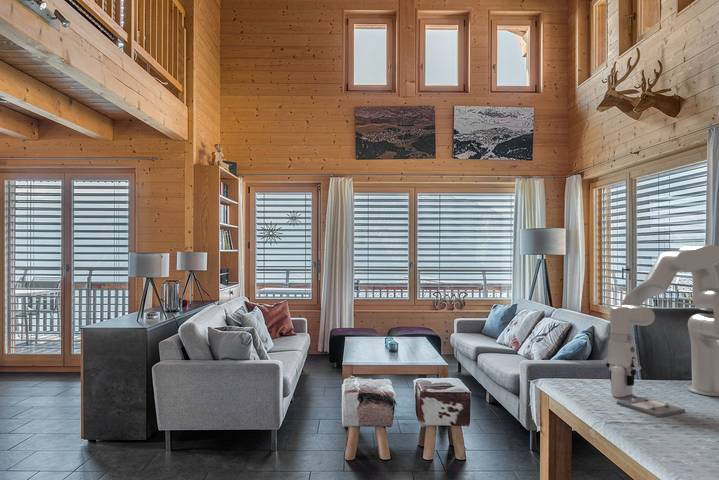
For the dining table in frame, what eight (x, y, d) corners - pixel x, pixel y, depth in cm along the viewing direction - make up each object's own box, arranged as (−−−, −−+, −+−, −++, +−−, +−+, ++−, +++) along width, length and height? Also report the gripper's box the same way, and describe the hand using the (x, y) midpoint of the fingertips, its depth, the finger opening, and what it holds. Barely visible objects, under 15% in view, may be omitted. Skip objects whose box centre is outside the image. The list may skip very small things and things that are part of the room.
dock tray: (642, 399, 181) (642, 392, 181) (685, 412, 166) (685, 404, 167) (616, 403, 176) (616, 397, 176) (658, 417, 161) (658, 409, 161)
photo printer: (623, 392, 191) (622, 361, 192) (634, 394, 188) (633, 363, 188) (609, 396, 186) (609, 364, 186) (620, 398, 182) (620, 366, 183)
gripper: (648, 340, 181) (649, 387, 181) (608, 334, 197) (609, 377, 196) (634, 341, 178) (635, 389, 178) (595, 335, 194) (596, 379, 194)
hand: (621, 382), depth 187 cm, fingers open, 6 cm apart
